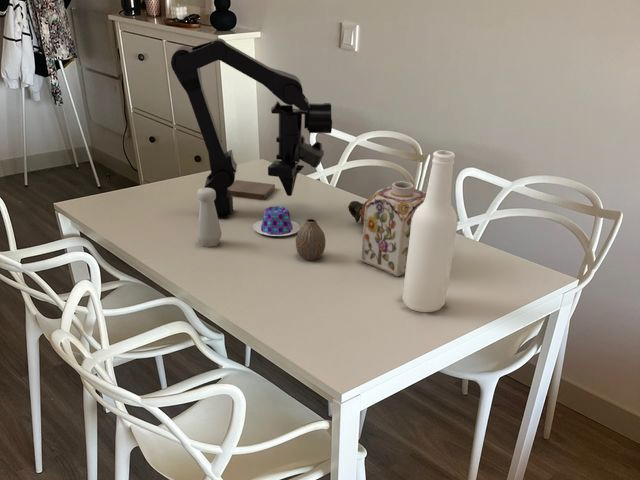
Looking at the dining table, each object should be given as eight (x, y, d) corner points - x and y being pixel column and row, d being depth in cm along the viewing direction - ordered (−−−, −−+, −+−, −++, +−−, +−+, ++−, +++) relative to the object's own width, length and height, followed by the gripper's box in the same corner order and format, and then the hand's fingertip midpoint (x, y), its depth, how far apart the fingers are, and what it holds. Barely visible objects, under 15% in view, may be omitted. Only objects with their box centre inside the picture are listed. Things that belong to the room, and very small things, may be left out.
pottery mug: (392, 224, 176) (399, 202, 168) (380, 250, 172) (386, 229, 164) (351, 206, 176) (356, 184, 169) (337, 232, 173) (342, 210, 165)
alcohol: (415, 316, 133) (436, 161, 115) (394, 297, 139) (411, 148, 121) (452, 309, 136) (478, 157, 118) (430, 291, 142) (451, 145, 124)
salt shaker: (224, 240, 162) (221, 186, 154) (219, 249, 157) (216, 193, 149) (201, 238, 162) (196, 184, 154) (195, 247, 157) (190, 192, 150)
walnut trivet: (224, 195, 188) (224, 189, 188) (236, 184, 196) (236, 179, 195) (264, 200, 186) (264, 194, 185) (274, 189, 194) (274, 184, 193)
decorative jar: (392, 249, 161) (400, 173, 150) (429, 264, 154) (441, 185, 143) (358, 261, 154) (364, 183, 143) (396, 278, 147) (406, 196, 137)
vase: (314, 265, 151) (315, 227, 146) (289, 258, 154) (290, 221, 149) (330, 255, 156) (332, 219, 151) (305, 249, 159) (306, 212, 154)
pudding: (282, 242, 162) (282, 221, 158) (243, 231, 167) (242, 210, 163) (309, 228, 170) (309, 208, 167) (271, 218, 175) (271, 198, 172)
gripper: (311, 144, 156) (310, 210, 166) (330, 127, 171) (327, 188, 180) (266, 140, 158) (267, 205, 168) (288, 123, 173) (288, 184, 182)
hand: (289, 195), depth 174 cm, fingers closed
